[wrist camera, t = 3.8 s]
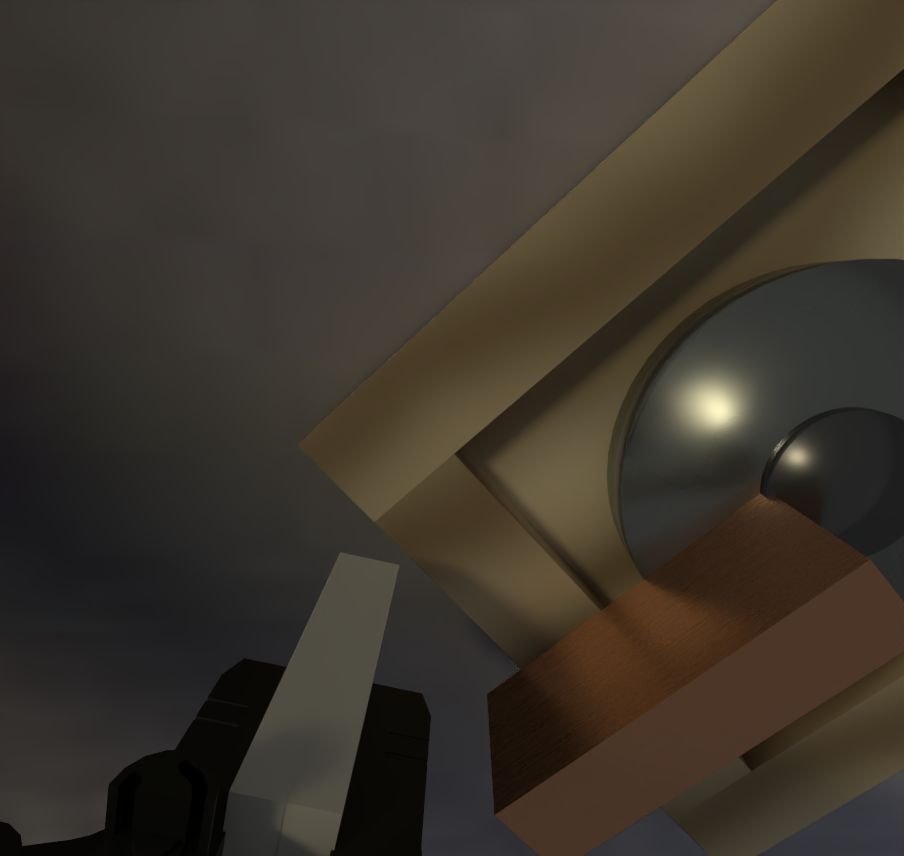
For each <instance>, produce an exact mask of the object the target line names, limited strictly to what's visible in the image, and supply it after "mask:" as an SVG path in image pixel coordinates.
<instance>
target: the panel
mask: <svg viewBox="0 0 904 856" xmlns="http://www.w3.org/2000/svg"><path fill="white" fill-rule="evenodd" d="M858 259H902V260H904V0H777V1H776V2H774V3H773V4H772V5H771V6H770V7H769V8H768V9H767V10H766V11H765V12H764V13H763V14H762V15H760V16H759V17H758V18H757V19H756V20H755V21H754V22H753V23H752V24H751V25H750V26H749V27H747V28H746V29H745V30H744V31H743V32H742V33H741V34H740V35H739V36H738V37H737V38H736V39H735V40H733V41H732V42H731V43H730V44H729V45H728V46H727V47H726V48H725V49H724V50H723V51H722V52H720V53H719V54H718V55H717V56H716V57H715V58H714V59H713V60H712V61H711V62H710V63H709V64H708V65H706V66H705V67H704V68H703V69H702V70H701V71H700V72H699V73H698V74H697V75H696V76H695V77H693V78H692V79H691V80H690V81H689V82H688V83H687V84H686V85H685V86H684V87H683V88H682V89H681V90H679V91H678V92H677V93H676V94H675V95H674V96H673V97H672V98H671V99H670V100H669V101H668V102H666V103H665V104H664V105H663V106H662V107H661V108H660V109H659V110H658V111H657V112H656V113H655V114H654V115H652V116H651V117H650V118H649V119H648V120H647V121H646V122H645V123H644V124H643V125H642V126H641V127H639V128H638V129H637V130H636V131H635V132H634V133H633V134H632V135H631V136H630V137H629V138H628V139H627V140H625V141H624V142H623V143H622V144H621V145H620V146H619V147H618V148H617V149H616V150H615V151H614V152H612V153H611V154H610V155H609V156H608V157H607V158H606V159H605V160H604V161H603V162H602V163H601V164H600V165H598V166H597V167H596V168H595V169H594V170H593V171H592V172H591V173H590V174H589V175H588V176H587V177H585V178H584V179H583V180H582V181H581V182H580V183H579V184H578V185H577V186H576V187H575V188H574V189H573V190H571V191H570V192H569V193H568V194H567V195H566V196H565V197H564V198H563V199H562V200H561V201H560V202H558V203H557V204H556V205H555V206H554V207H553V208H552V209H551V210H550V211H549V212H548V213H547V214H546V215H544V216H543V217H542V218H541V219H540V220H539V221H538V222H537V223H536V224H535V225H534V226H533V227H531V228H530V229H529V230H528V231H527V232H526V233H525V234H524V235H523V236H522V237H521V238H520V239H519V240H517V241H516V242H515V243H514V244H513V245H512V246H511V247H510V248H509V249H508V250H507V251H506V252H504V253H503V254H502V255H501V256H500V257H499V258H498V259H497V260H496V261H495V262H494V263H493V264H492V265H490V266H489V267H488V268H487V269H486V270H485V271H484V272H483V273H482V274H481V275H480V276H479V277H477V278H476V279H475V280H474V281H473V282H472V283H471V284H470V285H469V286H468V287H467V288H466V289H465V290H463V291H462V292H461V293H460V294H459V295H458V296H457V297H456V298H455V299H454V300H453V301H452V302H450V303H449V304H448V305H447V306H446V307H445V308H444V309H443V310H442V311H441V312H440V313H439V314H438V315H436V316H435V317H434V318H433V319H432V320H431V321H430V322H429V323H428V324H427V325H426V326H425V327H423V328H422V329H421V330H420V331H419V332H418V333H417V334H416V335H415V336H414V337H413V338H412V339H411V340H409V341H408V342H407V343H406V344H405V345H404V346H403V347H402V348H401V349H400V350H399V351H398V352H396V353H395V354H394V355H393V356H392V357H391V358H390V359H389V360H388V361H387V362H386V363H385V364H384V365H382V366H381V367H380V368H379V369H378V370H377V371H376V372H375V373H374V374H373V375H372V376H371V377H369V378H368V379H367V380H366V381H365V382H364V383H363V384H362V385H361V386H360V387H359V388H358V389H357V390H355V391H354V392H353V393H352V394H351V395H350V396H349V397H348V398H347V399H346V400H345V401H344V402H342V403H341V404H340V405H339V406H338V407H337V408H336V409H335V410H334V411H333V412H332V413H331V414H330V415H328V416H327V417H326V418H325V419H324V420H323V421H322V422H321V423H320V424H319V425H318V426H317V427H316V428H315V429H314V430H313V431H311V432H310V433H309V434H308V435H307V436H306V437H305V438H304V439H303V440H302V441H301V442H300V443H299V444H298V445H297V446H298V447H299V448H300V449H301V450H302V451H303V452H304V453H305V454H306V455H307V456H308V457H309V458H310V459H311V460H312V461H313V462H314V463H315V464H316V465H317V466H318V467H319V468H320V469H321V470H322V471H323V472H324V473H325V474H326V475H327V476H328V477H329V478H330V479H331V480H332V481H333V482H334V483H335V484H336V485H337V486H338V487H339V488H340V489H341V490H342V491H343V492H344V493H345V494H346V495H347V496H348V497H349V498H350V499H351V500H352V501H353V502H354V503H355V504H356V505H357V506H358V507H359V508H360V509H361V510H362V511H363V512H364V513H365V514H366V515H367V516H368V517H369V518H370V519H371V520H372V521H373V522H374V523H375V524H377V525H378V526H379V527H380V528H381V529H382V530H383V531H384V532H385V533H386V534H387V535H388V536H389V537H390V538H391V539H392V540H393V541H394V542H395V543H396V544H397V545H398V546H399V547H400V548H401V549H402V550H403V551H404V552H405V553H406V554H407V555H408V556H409V557H410V558H411V559H412V560H413V561H414V562H415V563H416V564H417V565H418V566H419V567H420V568H421V569H422V570H423V571H424V572H425V573H426V574H427V575H428V576H429V577H430V578H431V579H432V580H433V581H434V582H435V583H436V584H437V585H438V586H439V587H440V588H441V589H442V590H443V591H444V592H445V593H446V594H447V595H448V596H449V597H450V598H451V599H452V600H453V601H454V602H455V603H456V604H457V605H458V606H459V607H460V608H461V609H462V610H463V611H464V612H465V613H466V614H467V615H468V616H469V617H470V618H471V619H472V620H473V621H474V622H475V623H476V624H477V625H478V626H479V627H480V628H481V629H482V630H483V631H484V632H485V633H486V634H487V635H488V636H489V637H490V638H491V639H492V640H493V641H494V642H495V643H496V644H497V645H498V646H499V647H500V648H501V649H502V650H503V651H504V652H505V653H506V654H507V655H508V656H509V657H510V658H511V659H512V660H513V661H514V662H515V663H516V664H517V665H518V666H519V667H520V668H521V669H522V668H524V667H525V666H526V665H528V664H529V663H531V662H532V661H533V660H535V659H536V658H537V657H539V656H540V655H541V654H543V653H544V652H546V651H547V650H548V649H550V648H551V647H552V646H554V645H555V644H556V643H558V642H559V641H560V640H562V639H563V638H565V637H566V636H567V635H569V634H570V633H571V632H573V631H574V630H575V629H577V628H578V627H579V626H581V625H582V624H584V623H585V622H586V621H588V620H589V619H590V618H592V617H593V616H594V615H596V614H597V613H598V612H600V611H601V610H603V609H604V608H605V607H607V606H608V605H609V604H611V603H612V602H613V601H615V600H616V599H617V598H619V597H620V596H622V595H623V594H624V593H626V592H627V591H628V590H630V589H631V588H632V587H634V586H635V585H636V584H638V583H639V582H641V581H642V580H643V578H642V576H641V575H640V573H639V571H638V570H637V568H636V567H635V565H634V563H633V562H632V560H631V558H630V556H629V555H628V553H627V551H626V549H625V548H624V546H623V544H622V542H621V540H620V537H619V534H618V532H617V529H616V527H615V524H614V521H613V517H612V512H611V508H610V504H609V498H608V485H607V466H608V452H609V447H610V442H611V437H612V432H613V428H614V425H615V422H616V419H617V416H618V413H619V410H620V407H621V404H622V402H623V400H624V398H625V396H626V394H627V392H628V390H629V388H630V386H631V384H632V382H633V380H634V379H635V377H636V376H637V374H638V372H639V371H640V369H641V368H642V366H643V365H644V363H645V362H646V360H647V359H648V357H649V356H650V355H651V354H652V353H653V351H654V350H655V349H656V348H657V347H658V345H659V344H660V343H661V342H662V341H663V340H664V338H665V337H666V336H667V335H668V334H669V333H670V332H671V331H673V330H674V329H675V328H676V327H677V326H678V325H679V324H680V323H681V322H682V321H683V320H684V319H685V318H686V317H688V316H689V315H690V314H692V313H693V312H694V311H696V310H697V309H699V308H700V307H701V306H703V305H704V304H705V303H707V302H708V301H709V300H711V299H713V298H715V297H716V296H718V295H720V294H722V293H723V292H725V291H727V290H729V289H730V288H732V287H734V286H736V285H738V284H741V283H743V282H745V281H748V280H750V279H753V278H755V277H757V276H760V275H762V274H766V273H769V272H773V271H776V270H780V269H783V268H787V267H791V266H798V265H804V264H811V263H818V262H831V261H844V260H858ZM903 769H904V652H902V653H900V654H899V655H897V656H896V657H894V658H893V659H891V660H890V661H888V662H886V663H885V664H883V665H882V666H880V667H879V668H877V669H875V670H874V671H872V672H871V673H869V674H868V675H866V676H864V677H863V678H861V679H860V680H858V681H857V682H855V683H853V684H852V685H850V686H849V687H847V688H846V689H844V690H842V691H841V692H839V693H838V694H836V695H835V696H833V697H831V698H830V699H828V700H827V701H825V702H824V703H822V704H820V705H819V706H817V707H816V708H814V709H813V710H811V711H809V712H808V713H806V714H805V715H803V716H802V717H800V718H799V719H797V720H795V721H794V722H792V723H791V724H789V725H788V726H786V727H784V728H783V729H781V730H780V731H778V732H777V733H775V734H773V735H772V736H770V737H769V738H767V739H766V740H764V741H762V742H761V743H759V744H758V745H756V746H755V747H753V748H751V749H750V750H748V751H747V752H745V753H744V754H742V755H740V756H739V757H737V758H736V759H734V760H733V761H731V762H729V763H728V764H726V765H725V766H723V767H722V768H720V769H719V770H717V771H715V772H714V773H712V774H711V775H709V776H708V777H706V778H704V779H703V780H701V781H700V782H698V783H697V784H695V785H693V786H692V787H690V788H689V789H687V790H686V791H684V792H682V793H681V794H679V795H678V796H676V797H675V798H673V799H671V800H670V801H668V802H667V803H665V804H664V805H662V806H660V807H661V808H662V809H663V810H664V811H665V812H666V813H667V814H668V815H669V816H670V817H671V818H672V819H673V820H674V821H675V822H676V823H677V824H678V825H679V826H680V827H681V828H682V829H683V830H684V831H685V832H686V833H687V834H688V835H689V836H690V837H691V838H692V839H693V840H694V841H695V842H696V843H697V844H698V845H699V846H700V847H701V848H702V849H703V850H704V851H705V852H706V853H707V854H708V855H709V856H758V855H760V854H761V853H763V852H765V851H766V850H768V849H770V848H772V847H773V846H775V845H777V844H778V843H780V842H782V841H783V840H785V839H787V838H788V837H790V836H792V835H793V834H795V833H797V832H798V831H800V830H802V829H804V828H805V827H807V826H809V825H810V824H812V823H814V822H815V821H817V820H819V819H820V818H822V817H824V816H825V815H827V814H829V813H831V812H832V811H834V810H836V809H837V808H839V807H841V806H842V805H844V804H846V803H847V802H849V801H851V800H852V799H854V798H856V797H857V796H859V795H861V794H863V793H864V792H866V791H868V790H869V789H871V788H873V787H874V786H876V785H878V784H879V783H881V782H883V781H884V780H886V779H888V778H889V777H891V776H893V775H895V774H896V773H898V772H900V771H901V770H903Z"/></svg>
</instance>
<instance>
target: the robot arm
mask: <svg viewBox="0 0 904 856" xmlns="http://www.w3.org/2000/svg"><path fill="white" fill-rule="evenodd" d="M398 570H399V565H397V564H392V563H388V562H383V561H379V560H374V559H369V558H365V557H360V556H356V555H351V554H346V553H342V552H340V554H339V556H338V558H337V560H336V563H335V565H334V567H333V569H332V571H331V573H330V576H329V578H328V580H327V582H326V584H325V586H324V588H323V591H322V593H321V595H320V597H319V599H318V601H317V603H316V606H315V608H314V610H313V612H312V614H311V616H310V619H309V621H308V623H307V625H306V627H305V629H304V631H303V634H302V636H301V638H300V640H299V642H298V644H297V646H296V649H295V651H294V653H293V655H292V657H291V659H290V662H289V664H288V666H287V667H283V666H278V665H274V664H269V663H264V662H259V661H254V660H250V659H245V658H244V659H243V660H241V661H240V662H239V663H237V664H236V665H234V666H233V667H232V668H230V669H229V670H228V671H226V672H225V673H224V674H222V675H221V677H220V679H219V680H218V682H217V683H216V685H215V687H214V688H213V690H212V692H211V693H210V695H209V696H208V699H207V701H205V703H204V704H203V706H202V708H201V709H200V711H199V712H198V714H197V716H196V719H195V720H193V722H192V724H191V725H190V727H189V728H188V730H187V732H186V733H185V735H184V736H183V738H182V740H181V741H180V743H179V744H178V746H177V748H176V749H175V750H166V751H163V752H159V753H155V754H151V755H147V756H145V757H143V758H141V759H139V760H138V761H136V762H134V763H132V764H131V765H129V766H127V767H126V768H124V769H123V770H122V771H121V772H120V773H119V774H118V776H117V777H116V778H115V779H114V780H113V781H112V782H111V783H110V784H109V787H108V799H107V811H106V822H105V829H104V830H102V831H99V832H97V833H95V834H92V835H90V836H85V837H81V838H76V839H72V840H65V841H58V842H50V843H43V844H35V845H28V846H22V842H21V835H20V834H19V833H18V832H17V831H16V830H15V829H14V828H13V827H12V826H11V825H10V824H8V823H4V822H0V856H422V851H421V841H422V827H423V814H424V801H425V787H426V774H427V760H428V747H429V745H428V743H429V734H430V721H431V715H430V713H429V710H428V708H427V705H426V702H425V700H424V697H423V695H422V694H421V693H417V692H412V691H407V690H402V689H397V688H393V687H388V686H383V685H378V684H373V679H374V675H375V670H376V666H377V662H378V657H379V653H380V649H381V644H382V640H383V635H384V631H385V627H386V622H387V618H388V613H389V609H390V605H391V600H392V596H393V592H394V587H395V583H396V578H397V574H398Z"/></svg>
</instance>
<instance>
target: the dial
mask: <svg viewBox="0 0 904 856" xmlns="http://www.w3.org/2000/svg"><path fill="white" fill-rule="evenodd" d="M607 485H608V498H609V504H610V508H611V512H612V517H613V521H614V524H615V527H616V529H617V532H618V534H619V537H620V540H621V542H622V544H623V546H624V548H625V549H626V551H627V553H628V555H629V556H630V558H631V560H632V562H633V563H634V565H635V567H636V568H637V570H638V571H639V573H640V575H641V576H642V578H643V580H642V581H641V582H639V583H638V584H636V585H635V586H634V587H632V588H631V589H630V590H628V591H627V592H626V593H624V594H623V595H622V596H620V597H619V598H617V599H616V600H615V601H613V602H612V603H611V604H609V605H608V606H607V607H605V608H604V609H603V610H601V611H600V612H598V613H597V614H596V615H594V616H593V617H592V618H590V619H589V620H588V621H586V622H585V623H584V624H582V625H581V626H579V627H578V628H577V629H575V630H574V631H573V632H571V633H570V634H569V635H567V636H566V637H565V638H563V639H562V640H560V641H559V642H558V643H556V644H555V645H554V646H552V647H551V648H550V649H548V650H547V651H546V652H544V653H543V654H541V655H540V656H539V657H537V658H536V659H535V660H533V661H532V662H531V663H529V664H528V665H526V666H525V667H524V668H522V669H521V670H520V671H518V672H517V673H516V674H514V675H513V676H512V677H510V678H509V679H507V680H506V681H505V682H503V683H502V684H501V685H499V686H498V687H497V688H495V689H494V690H493V691H491V692H490V693H488V694H487V700H488V716H489V733H490V749H491V765H492V782H493V798H494V815H495V816H496V817H497V818H498V819H499V820H500V821H501V822H503V823H504V824H505V825H506V826H507V827H508V828H509V829H510V830H511V831H512V832H514V833H515V834H516V835H517V836H518V837H519V838H520V839H521V840H522V841H523V842H524V843H526V844H527V845H528V846H529V847H530V848H531V849H532V850H533V851H534V852H535V853H537V854H538V855H539V856H584V855H585V854H587V853H588V852H590V851H591V850H593V849H595V848H596V847H598V846H599V845H601V844H602V843H604V842H606V841H607V840H609V839H610V838H612V837H613V836H615V835H617V834H618V833H620V832H621V831H623V830H624V829H626V828H628V827H629V826H631V825H632V824H634V823H635V822H637V821H638V820H640V819H642V818H643V817H645V816H646V815H648V814H649V813H651V812H653V811H654V810H656V809H657V808H659V807H660V806H662V805H664V804H665V803H667V802H668V801H670V800H671V799H673V798H675V797H676V796H678V795H679V794H681V793H682V792H684V791H686V790H687V789H689V788H690V787H692V786H693V785H695V784H697V783H698V782H700V781H701V780H703V779H704V778H706V777H708V776H709V775H711V774H712V773H714V772H715V771H717V770H719V769H720V768H722V767H723V766H725V765H726V764H728V763H729V762H731V761H733V760H734V759H736V758H737V757H739V756H740V755H742V754H744V753H745V752H747V751H748V750H750V749H751V748H753V747H755V746H756V745H758V744H759V743H761V742H762V741H764V740H766V739H767V738H769V737H770V736H772V735H773V734H775V733H777V732H778V731H780V730H781V729H783V728H784V727H786V726H788V725H789V724H791V723H792V722H794V721H795V720H797V719H799V718H800V717H802V716H803V715H805V714H806V713H808V712H809V711H811V710H813V709H814V708H816V707H817V706H819V705H820V704H822V703H824V702H825V701H827V700H828V699H830V698H831V697H833V696H835V695H836V694H838V693H839V692H841V691H842V690H844V689H846V688H847V687H849V686H850V685H852V684H853V683H855V682H857V681H858V680H860V679H861V678H863V677H864V676H866V675H868V674H869V673H871V672H872V671H874V670H875V669H877V668H879V667H880V666H882V665H883V664H885V663H886V662H888V661H890V660H891V659H893V658H894V657H896V656H897V655H899V654H900V653H902V652H904V260H902V259H858V260H844V261H831V262H818V263H811V264H804V265H798V266H791V267H787V268H783V269H780V270H776V271H773V272H769V273H766V274H762V275H760V276H757V277H755V278H753V279H750V280H748V281H745V282H743V283H741V284H738V285H736V286H734V287H732V288H730V289H729V290H727V291H725V292H723V293H722V294H720V295H718V296H716V297H715V298H713V299H711V300H709V301H708V302H707V303H705V304H704V305H703V306H701V307H700V308H699V309H697V310H696V311H694V312H693V313H692V314H690V315H689V316H688V317H686V318H685V319H684V320H683V321H682V322H681V323H680V324H679V325H678V326H677V327H676V328H675V329H674V330H673V331H671V332H670V333H669V334H668V335H667V336H666V337H665V338H664V340H663V341H662V342H661V343H660V344H659V345H658V347H657V348H656V349H655V350H654V351H653V353H652V354H651V355H650V356H649V357H648V359H647V360H646V362H645V363H644V365H643V366H642V368H641V369H640V371H639V372H638V374H637V376H636V377H635V379H634V380H633V382H632V384H631V386H630V388H629V390H628V392H627V394H626V396H625V398H624V400H623V402H622V404H621V407H620V410H619V413H618V416H617V419H616V422H615V425H614V428H613V432H612V437H611V442H610V447H609V452H608V466H607Z"/></svg>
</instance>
